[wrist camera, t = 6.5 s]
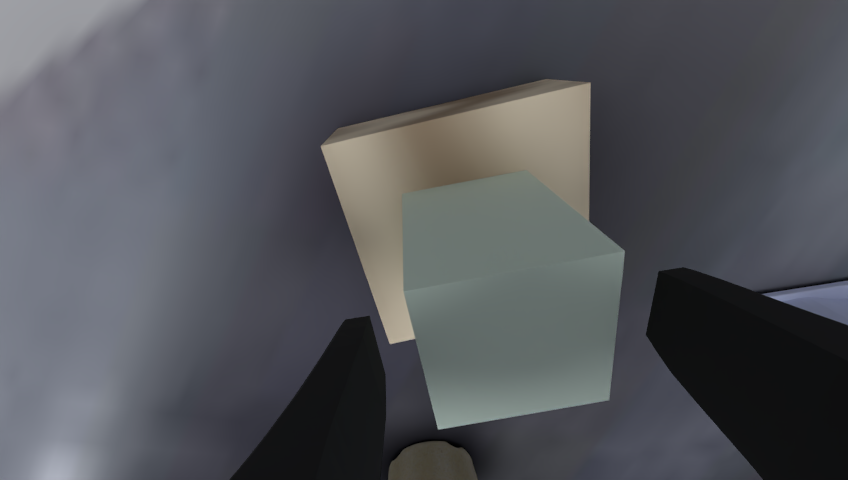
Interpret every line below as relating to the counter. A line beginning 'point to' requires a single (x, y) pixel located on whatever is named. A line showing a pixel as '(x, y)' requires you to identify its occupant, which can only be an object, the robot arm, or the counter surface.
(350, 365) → the robot arm
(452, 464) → the flower pot
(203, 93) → the counter surface
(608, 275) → the sage block
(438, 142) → the beech base
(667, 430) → the counter surface
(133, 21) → the counter surface
